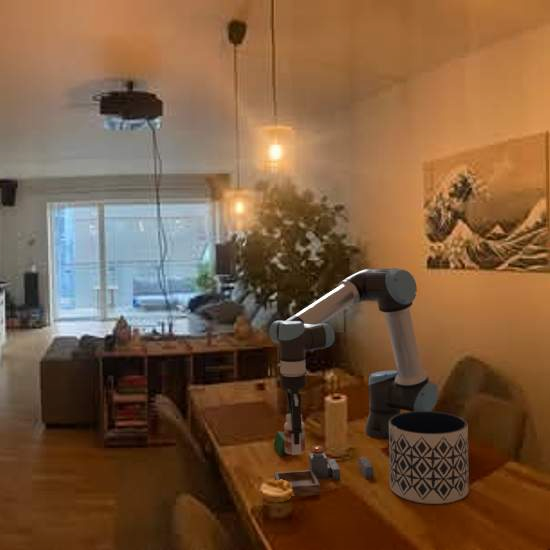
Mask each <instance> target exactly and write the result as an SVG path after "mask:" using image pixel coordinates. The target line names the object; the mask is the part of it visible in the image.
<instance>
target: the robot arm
mask: <svg viewBox="0 0 550 550" xmlns="http://www.w3.org/2000/svg"><path fill="white" fill-rule="evenodd" d="M417 291H418V288H417V283H416V280H415V277H414V276H413V274H412V273H411V272H409V271H408V270H405V269H401V268H395V267H393V268H375V267H374V268H373V267H371V268H365V269H363V270H359V271H358V272H355V273H353V274H351V275H350V276H348V277H345V278H344V279H343V280H341V281H340V282H339V283H338V284H337V287H336V288H334V289H332V290H331V291H329V292H328V293H326V294H324V295H323V296H322V297H320V298H319V299H316V300H315V301H314V302H313V303H311V304H309V305H307V306H306V307H304V308H303V309H302V310H300V311H298V312H297V313H296V314H294V315H292V316H290V317H289V318H288V319H286V320H282V319H281V320H275V321H273V322H272V323H271V325H270V327H269V330H268V334H269V338H270V340H271V341H272V342H273V343H275V344H278V347H279V348H278V349H279V363H277V366H278V368H279V367H280V368H279V369H280V370H279V373H280V375H279V377H280V382H279V383H280V387H281V389H284V390H286V393H285V395H286V396H285V397H286V404H287V407H286V408H287V414H290V413H291V423H292V432H290V434H291V439H292V454H291V455H292V456H298V455H299V456H300V455H302V454H301V433H302V428H301V415H302V410H301V408H302V394H301V393H300V392H299V390H300V389H304V388H305V387H306V385H307V379H306V378H307V377H306V374H305V373H306V370H307V369H306V352H310V351H316V350H323V349H327V348H329V347H331V346H332V345H333V344H334V342H335V339H336V338H335V335H336V334H335V330H334V329H333V327H332V325H330V324H328V323H325V322H327V321H329V320H330V319H331V318H333V317H335V316H336V315H338V314H339V313H340V312H342V311H344V310H345V309H346V308H348V307H349V306H351V307H353V306H356V305H358V304H359V303H362V302H363V303H364V302H376V303H377V305H378V311H380V313H382V314H384V317H385V320H386V325H387V331H388V335H389V340H390V343H391V348H392V353H393V358H394V362H395V366H396V370H383V371H377V372H373V373H371V374H370V375H369V377H368V398H369V400H368V402H369V404H368V405H369V414H368V416H367V420H366V423H365V426H364V427H365V434H366V435H368V436H369V437H373V438H377V439H387V440H389V420H390V418H391V417H393V416H395V415H397V414H401V413H402V411H406V412H415V411H433V410H434V408H435V407H436V403H437V401H438V398H439V387H438V385H437V384H436V383H435V382H434V381H430V379H429V375H428V372H427V371H426V370H424V369H423V368H422V363H421V357H420V354H419V353H420V351H419V349H418V343H417V339H416V334H415V330H414V325H413V320H412V315H411V311H410V308H411V307H412V306H413V302H414V300H415V299H416V296H417V294H416V292H417Z"/></svg>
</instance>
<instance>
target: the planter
mask: <svg viewBox="0 0 550 550" xmlns="http://www.w3.org/2000/svg"><path fill="white" fill-rule="evenodd" d="M468 426H469V424H468V422H467V420H466V419H464V418H463V417H460V416H458V415H455V414H451V413H447V412H440V411H433V410H431V411H415V412H411V411H406V412H401V414H397V415H395V416H393V417H391V418H390V420H389V439H388V447H389V448H388V449H389V452H388V453H389V455H388V456H389V457H388V459H389V485H390V486H389V487H390V489H391V491H392V492H393V493H394V494H395V495H397V496H399V497H400V498H402V499H405V500H406V501H410V502H413V503H418V504H426V505H443V504H444V503H446V504H451V503H454V501H455V502H457V500H458V501H459V500H462V499H463V498H465V497H466V496H467V495H468V493H469V490H470V487H469V485H470V482H469V481H470V480H469V477H470V476H469V475H470V474H469V428H468ZM450 502H451V503H450ZM444 505H445V504H444Z"/></svg>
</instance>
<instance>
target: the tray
mask: <svg viewBox="0 0 550 550" xmlns="http://www.w3.org/2000/svg"><path fill="white" fill-rule="evenodd" d="M273 473H274V474H273V475H274V481H275V480H280V479H283V480H286V481H288V482H290V483H291V484H292V485H291V487H292V489H293V493H294V495H295V496H296V497H307V496H319V495H320V493H321V491H320V482H319V479H317V478H316V476H315V473H314V471H313V470H309V469H305V470H304V469H302V470H291V471H289V470H287V471H278V472H277V471H276V472H273Z"/></svg>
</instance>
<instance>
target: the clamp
mask: <svg viewBox="0 0 550 550" xmlns="http://www.w3.org/2000/svg"><path fill="white" fill-rule="evenodd" d="M273 447H274V449H275V450H276V452H277V453H278V455H279V456H281V457H287V456H288V453H286V452H285V440H284V431H280V430H277V431H276V433H275V436H274V443H273Z"/></svg>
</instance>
